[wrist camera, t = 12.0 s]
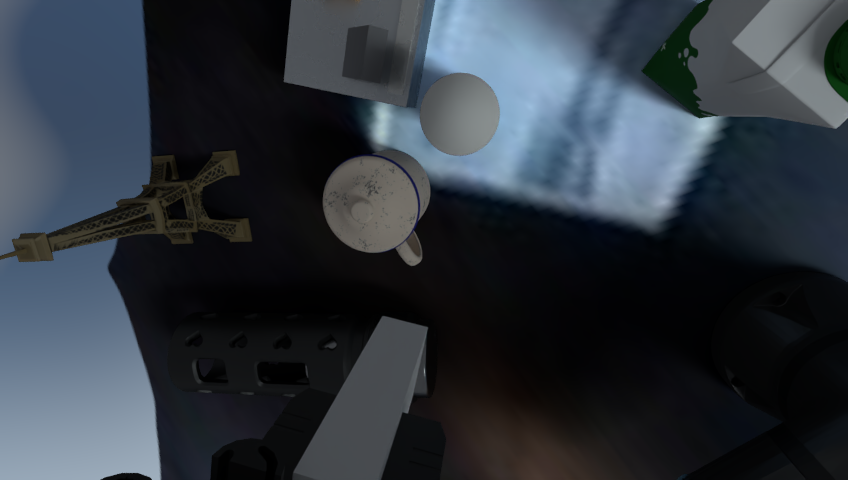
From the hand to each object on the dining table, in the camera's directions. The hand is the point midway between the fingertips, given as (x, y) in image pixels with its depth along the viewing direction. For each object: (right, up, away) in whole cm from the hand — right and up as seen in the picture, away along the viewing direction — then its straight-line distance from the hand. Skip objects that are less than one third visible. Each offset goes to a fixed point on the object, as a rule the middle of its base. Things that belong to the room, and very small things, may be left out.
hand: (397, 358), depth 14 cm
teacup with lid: (-2, +8, +34) cm, 35 cm away
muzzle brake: (-11, -7, +41) cm, 43 cm away
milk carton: (+26, +20, +26) cm, 42 cm away
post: (+6, +16, +31) cm, 35 cm away
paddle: (-6, +21, +26) cm, 34 cm away
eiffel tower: (-25, +9, +38) cm, 47 cm away
